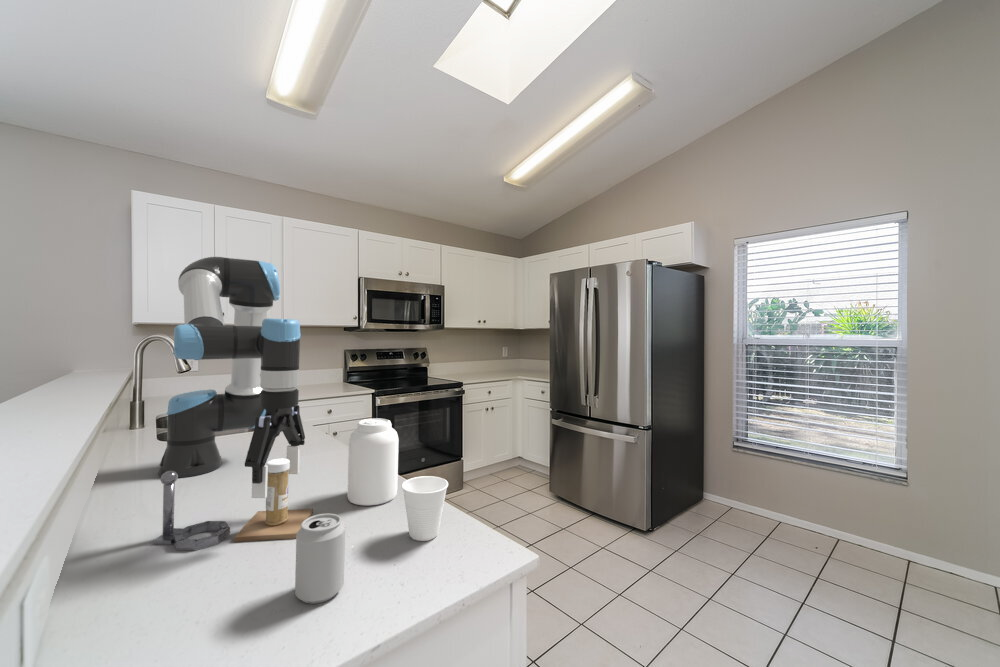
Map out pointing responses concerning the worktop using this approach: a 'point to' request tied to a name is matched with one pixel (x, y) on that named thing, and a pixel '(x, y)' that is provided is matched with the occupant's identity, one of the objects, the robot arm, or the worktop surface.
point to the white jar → (373, 462)
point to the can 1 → (320, 558)
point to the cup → (424, 505)
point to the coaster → (272, 527)
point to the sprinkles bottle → (277, 492)
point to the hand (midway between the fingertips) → (277, 484)
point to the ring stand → (180, 534)
